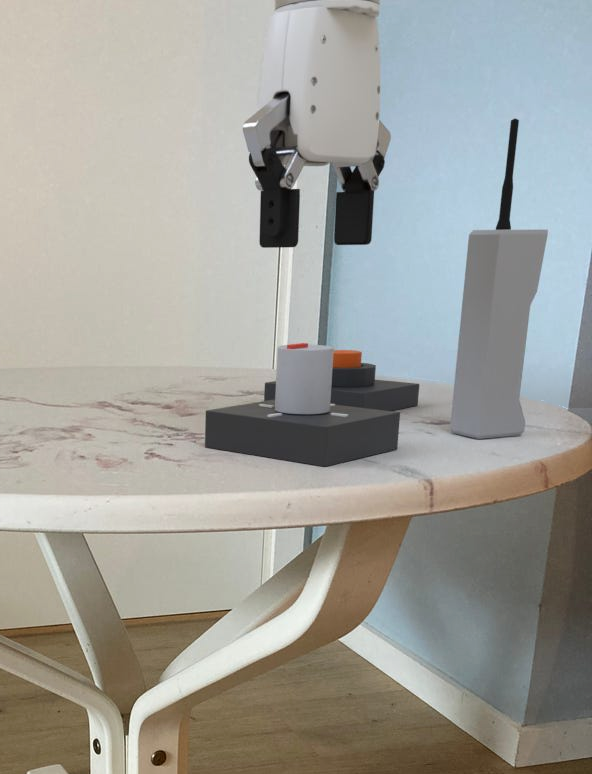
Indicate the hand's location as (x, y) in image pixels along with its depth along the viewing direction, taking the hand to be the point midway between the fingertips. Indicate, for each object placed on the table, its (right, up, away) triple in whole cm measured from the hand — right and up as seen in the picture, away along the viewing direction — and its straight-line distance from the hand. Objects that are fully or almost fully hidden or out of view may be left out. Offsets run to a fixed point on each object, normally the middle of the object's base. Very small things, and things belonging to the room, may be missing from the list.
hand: (316, 245), depth 86 cm
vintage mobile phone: (+17, -13, +10) cm, 23 cm away
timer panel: (-1, -15, +4) cm, 16 cm away
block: (+8, -7, +28) cm, 29 cm away
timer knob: (-1, -12, +3) cm, 13 cm away
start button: (+8, -3, +26) cm, 28 cm away
